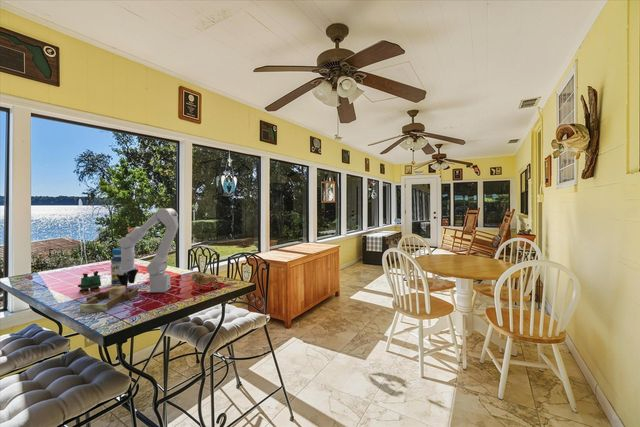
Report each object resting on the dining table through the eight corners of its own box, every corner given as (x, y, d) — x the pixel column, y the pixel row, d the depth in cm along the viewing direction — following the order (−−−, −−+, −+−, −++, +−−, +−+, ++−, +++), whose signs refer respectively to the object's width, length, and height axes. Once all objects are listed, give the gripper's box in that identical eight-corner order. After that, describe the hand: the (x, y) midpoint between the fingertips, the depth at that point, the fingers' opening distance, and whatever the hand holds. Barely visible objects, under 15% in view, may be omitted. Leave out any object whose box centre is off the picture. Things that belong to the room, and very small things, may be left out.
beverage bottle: (131, 283, 168) (131, 248, 167) (115, 286, 161) (114, 250, 160) (124, 280, 172) (124, 247, 172) (108, 284, 165) (107, 249, 165)
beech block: (125, 295, 146) (125, 285, 146) (120, 298, 141) (120, 288, 141) (114, 295, 146) (114, 285, 145) (109, 299, 141) (109, 288, 141)
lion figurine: (191, 291, 154) (191, 274, 153) (191, 288, 159) (191, 272, 158) (221, 288, 159) (221, 272, 159) (220, 286, 164) (220, 270, 164)
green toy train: (94, 270, 158) (102, 270, 153) (95, 289, 158) (103, 290, 152) (73, 273, 150) (81, 274, 145) (74, 293, 150) (82, 295, 145)
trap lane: (140, 292, 151) (140, 286, 151) (113, 310, 125) (113, 303, 125) (106, 293, 148) (106, 287, 148) (72, 312, 123) (72, 305, 123)
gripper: (126, 257, 160) (126, 281, 160) (111, 262, 146) (112, 289, 146) (140, 257, 161) (140, 281, 161) (127, 262, 147) (127, 289, 147)
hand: (128, 285), depth 154 cm, fingers open, 7 cm apart
